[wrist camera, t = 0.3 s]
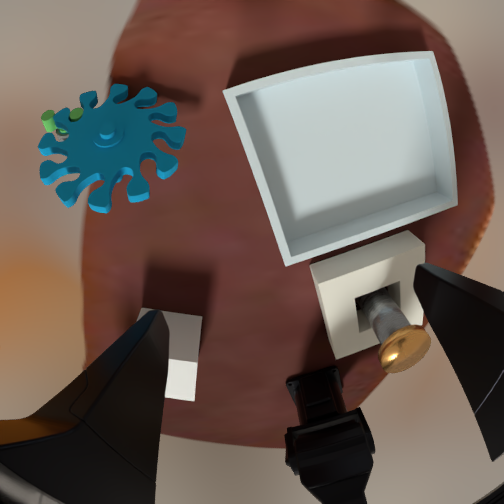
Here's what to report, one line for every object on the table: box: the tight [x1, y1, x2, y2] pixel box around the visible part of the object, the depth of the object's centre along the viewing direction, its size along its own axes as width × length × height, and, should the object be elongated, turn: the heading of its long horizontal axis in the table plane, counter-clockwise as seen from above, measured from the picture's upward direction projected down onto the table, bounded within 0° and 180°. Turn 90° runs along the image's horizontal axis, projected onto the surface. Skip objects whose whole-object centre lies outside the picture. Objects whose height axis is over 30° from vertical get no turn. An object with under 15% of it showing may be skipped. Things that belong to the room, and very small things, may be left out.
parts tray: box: [223, 51, 458, 266], centre depth 19 cm, size 13×16×3 cm
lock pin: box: [355, 287, 431, 373], centre depth 23 cm, size 4×4×9 cm
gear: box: [38, 84, 186, 213], centre depth 17 cm, size 11×6×10 cm
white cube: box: [136, 308, 202, 401], centre depth 25 cm, size 6×6×6 cm
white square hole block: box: [310, 230, 425, 359], centre depth 25 cm, size 10×10×3 cm
